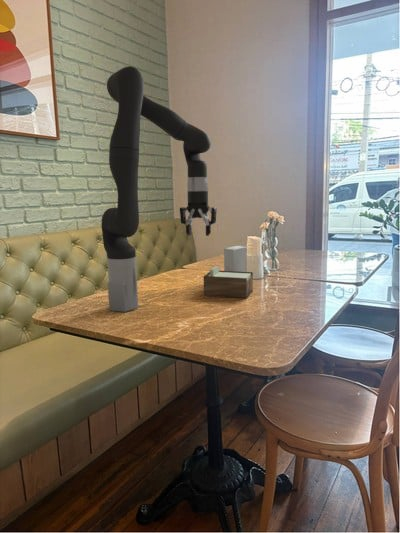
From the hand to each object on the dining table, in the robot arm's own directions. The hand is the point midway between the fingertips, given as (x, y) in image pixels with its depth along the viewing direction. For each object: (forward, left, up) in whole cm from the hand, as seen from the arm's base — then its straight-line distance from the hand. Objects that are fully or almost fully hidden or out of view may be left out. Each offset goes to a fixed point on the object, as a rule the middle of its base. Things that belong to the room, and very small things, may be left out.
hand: (198, 235), depth 147 cm
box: (0, -12, -22) cm, 25 cm away
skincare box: (+19, -10, -22) cm, 30 cm away
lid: (0, -12, -16) cm, 20 cm away
